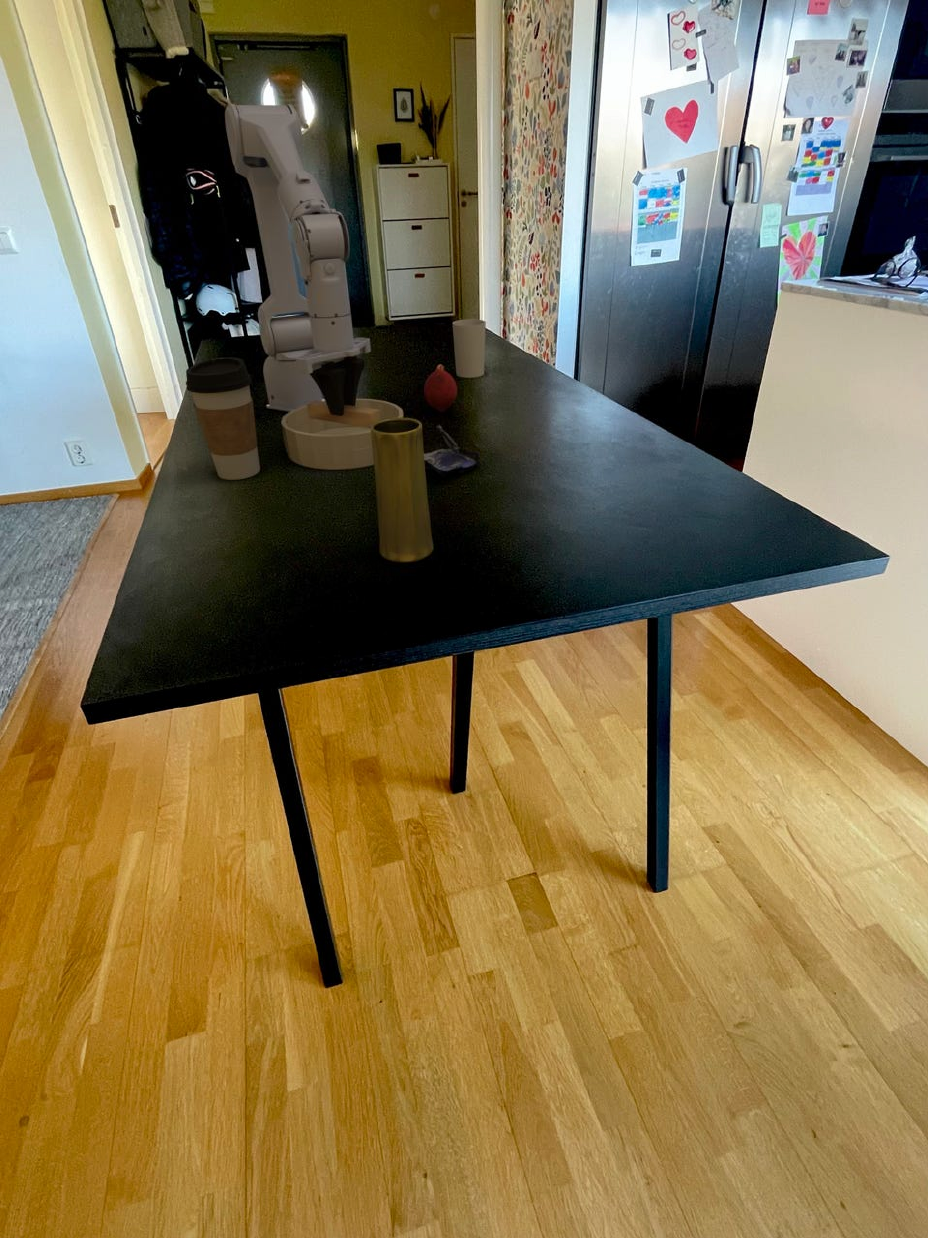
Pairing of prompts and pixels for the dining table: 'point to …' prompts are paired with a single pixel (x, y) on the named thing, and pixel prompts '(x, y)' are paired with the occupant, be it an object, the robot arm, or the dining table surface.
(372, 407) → the bowl
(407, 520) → the vase
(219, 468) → the coffee cup
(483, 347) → the white paper cup
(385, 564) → the dining table surface
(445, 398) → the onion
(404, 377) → the dining table surface
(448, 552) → the dining table surface
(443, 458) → the dark piece
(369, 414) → the tan wooden bar
